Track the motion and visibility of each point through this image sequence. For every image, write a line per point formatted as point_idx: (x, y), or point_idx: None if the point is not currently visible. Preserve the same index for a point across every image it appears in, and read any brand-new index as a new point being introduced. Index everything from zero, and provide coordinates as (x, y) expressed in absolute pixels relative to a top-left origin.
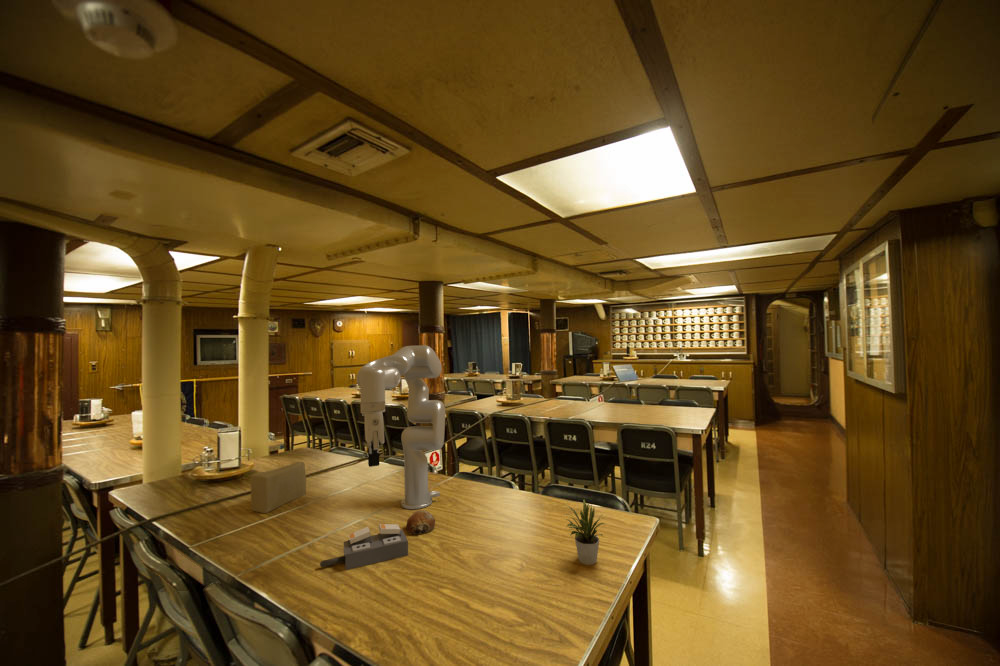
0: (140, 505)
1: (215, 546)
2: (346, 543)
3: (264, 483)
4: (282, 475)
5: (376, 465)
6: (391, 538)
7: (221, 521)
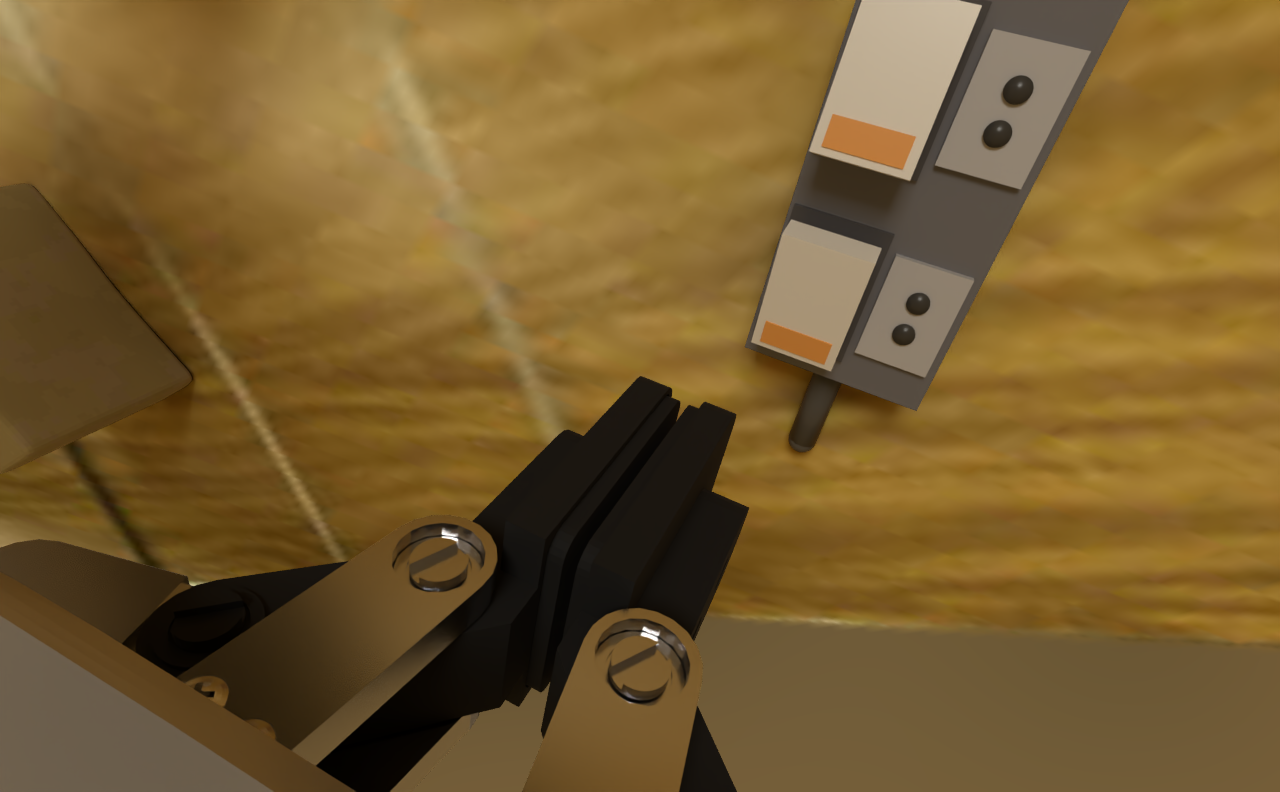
0: None
1: None
2: None
3: (60, 441)
4: None
5: (721, 454)
6: (981, 103)
7: (219, 489)
